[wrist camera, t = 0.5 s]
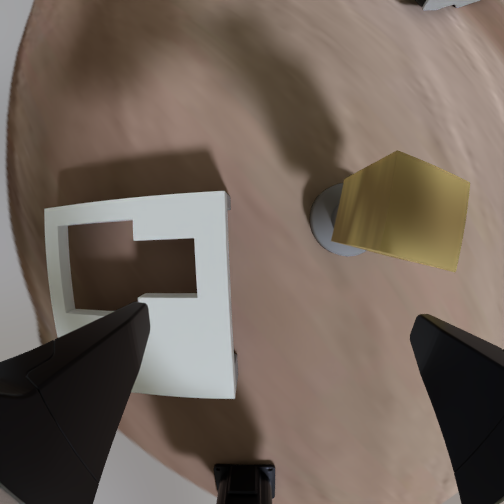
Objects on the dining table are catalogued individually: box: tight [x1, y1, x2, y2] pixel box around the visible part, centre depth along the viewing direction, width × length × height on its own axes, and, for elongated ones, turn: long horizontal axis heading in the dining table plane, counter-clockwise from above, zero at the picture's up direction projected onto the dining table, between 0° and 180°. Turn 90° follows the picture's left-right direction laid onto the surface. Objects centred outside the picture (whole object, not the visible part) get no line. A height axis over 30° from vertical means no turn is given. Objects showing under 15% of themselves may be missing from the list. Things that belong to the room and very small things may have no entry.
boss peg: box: [310, 150, 470, 272], centre depth 17 cm, size 6×6×13 cm
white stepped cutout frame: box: [44, 191, 238, 399], centre depth 22 cm, size 15×15×4 cm
